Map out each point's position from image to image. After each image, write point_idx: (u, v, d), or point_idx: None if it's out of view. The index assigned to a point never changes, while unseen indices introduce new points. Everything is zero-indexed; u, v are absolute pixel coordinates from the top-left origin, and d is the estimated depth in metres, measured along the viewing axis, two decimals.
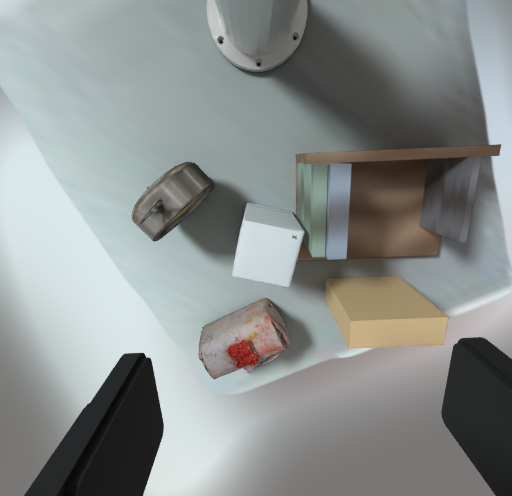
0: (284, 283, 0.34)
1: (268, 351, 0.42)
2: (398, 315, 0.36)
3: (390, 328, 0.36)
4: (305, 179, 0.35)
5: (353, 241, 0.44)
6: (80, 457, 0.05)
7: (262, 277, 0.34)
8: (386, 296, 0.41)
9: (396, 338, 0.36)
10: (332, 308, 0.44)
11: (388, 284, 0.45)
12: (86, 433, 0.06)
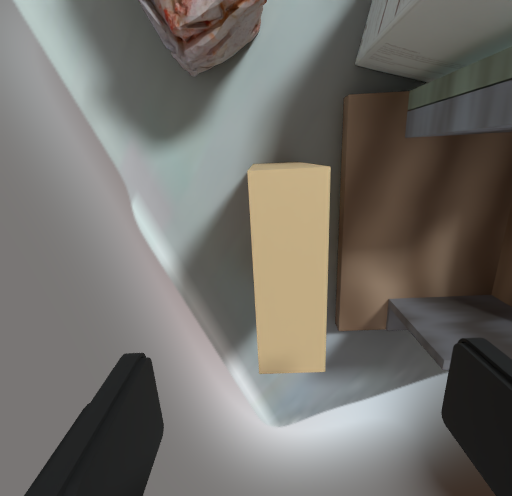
0: None
1: None
2: None
3: (303, 265, 0.15)
4: None
5: (375, 200, 0.26)
6: (79, 456, 0.05)
7: None
8: None
9: (276, 281, 0.16)
10: None
11: None
12: (86, 433, 0.06)
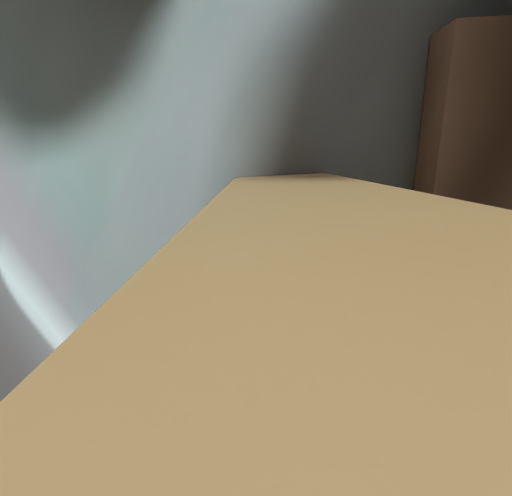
0: None
1: None
2: None
3: None
4: None
5: None
6: None
7: None
8: None
9: None
10: (259, 185, 0.08)
11: None
12: None
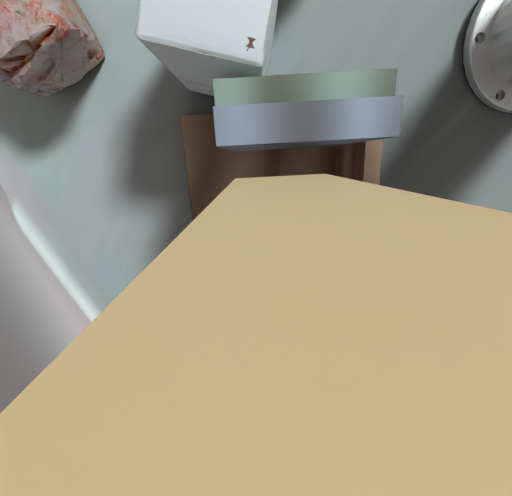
0: (144, 24, 0.16)
1: None
2: None
3: None
4: None
5: None
6: None
7: None
8: None
9: None
10: (259, 186, 0.08)
11: None
12: None
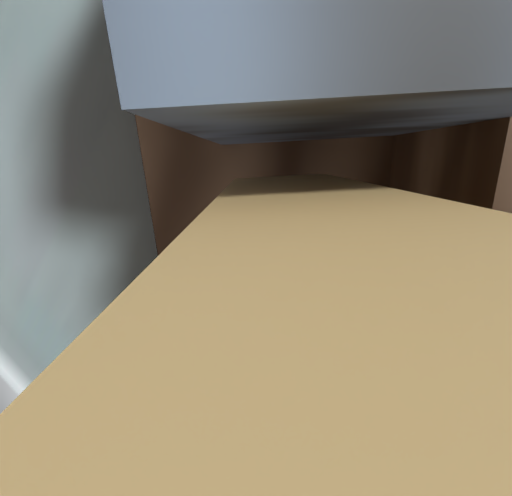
0: None
1: None
2: None
3: None
4: None
5: None
6: None
7: None
8: None
9: None
10: (259, 186, 0.08)
11: None
12: None
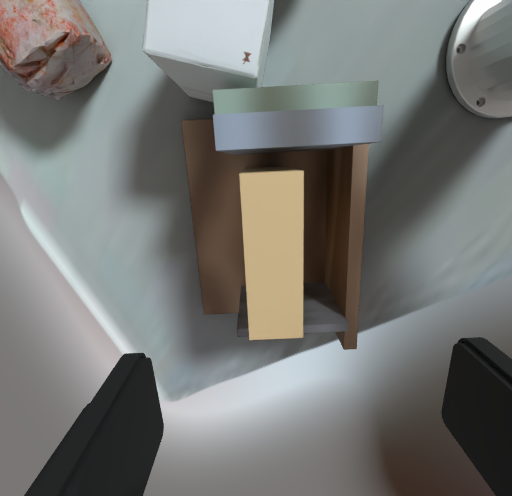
0: (151, 40, 0.17)
1: None
2: None
3: (283, 248, 0.19)
4: None
5: (216, 205, 0.31)
6: (79, 457, 0.05)
7: None
8: None
9: (262, 262, 0.20)
10: None
11: None
12: (86, 433, 0.06)
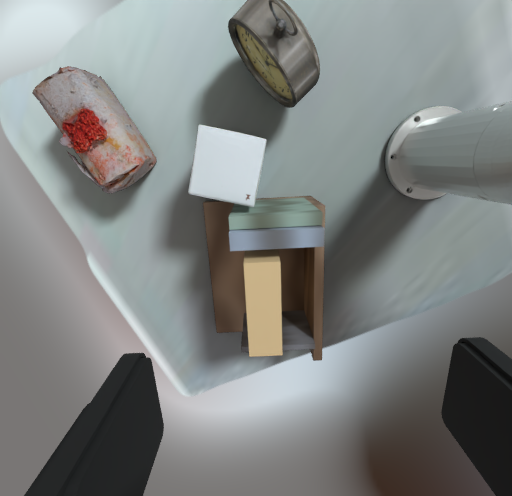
0: (193, 188, 0.31)
1: (96, 164, 0.34)
2: None
3: (269, 303, 0.32)
4: (298, 205, 0.35)
5: (226, 257, 0.44)
6: (79, 457, 0.05)
7: (199, 162, 0.30)
8: None
9: (257, 311, 0.33)
10: None
11: None
12: (86, 433, 0.06)
